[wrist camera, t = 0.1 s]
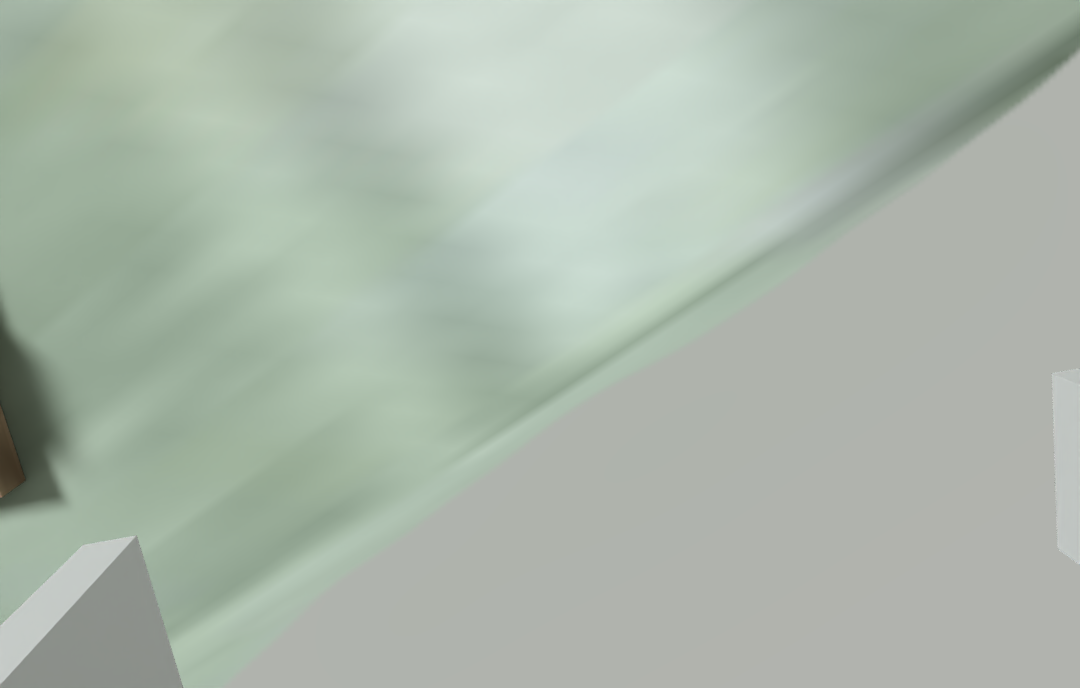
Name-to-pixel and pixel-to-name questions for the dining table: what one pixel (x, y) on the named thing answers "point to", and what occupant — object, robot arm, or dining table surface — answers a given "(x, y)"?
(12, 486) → the board
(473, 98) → the dining table surface
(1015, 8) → the dining table surface
